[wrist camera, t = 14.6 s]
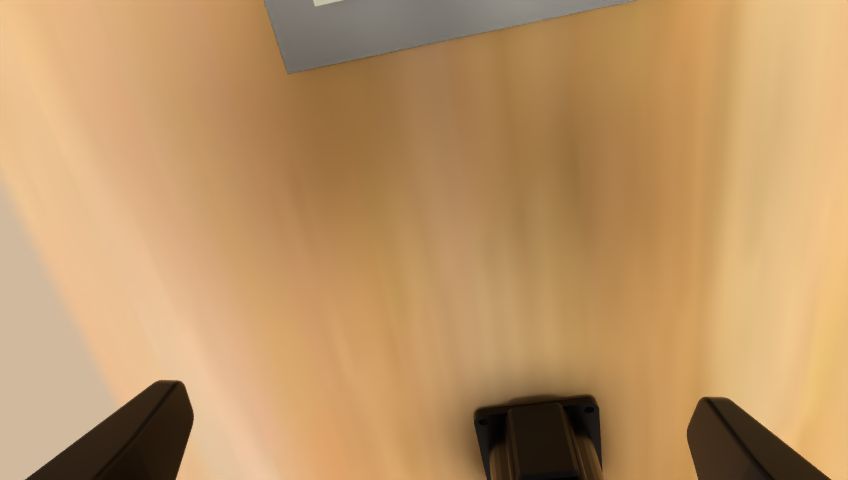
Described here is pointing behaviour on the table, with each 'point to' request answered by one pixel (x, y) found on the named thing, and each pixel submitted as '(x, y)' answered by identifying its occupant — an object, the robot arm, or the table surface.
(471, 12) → the vase holder
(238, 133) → the table surface
